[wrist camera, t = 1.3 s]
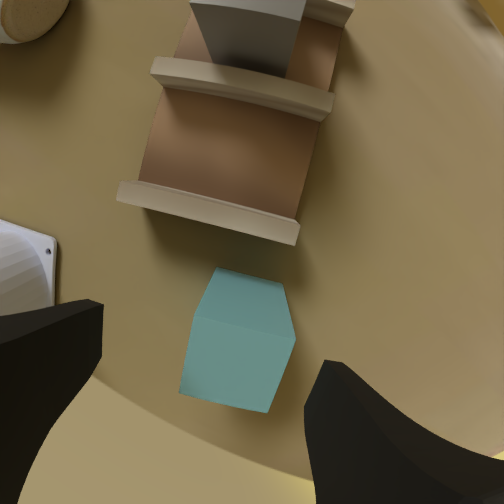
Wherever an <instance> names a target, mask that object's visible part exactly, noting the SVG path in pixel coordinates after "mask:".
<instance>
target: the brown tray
mask: <svg viewBox="0 0 504 504" xmlns="http://www.w3.org/2000/svg"><path fill="white" fill-rule="evenodd" d="M355 2H356V0H307V1H306V5H305V8H304V12H303V15H302V19H301V23H300V26H299V30H298V33H297V37H296V40H295V44H294V47H293V51H292V54H291V58H290V61H289V65H288V68H287V72H286V76H285V79H283V78H280V77H276V76H272V75H268V74H263V73H259V72H255V71H250V70H245V69H241V68H236V67H230V66H225V65H219V64H214V63H213V62H212V59H211V56H210V54H209V51H208V49H207V46H206V43H205V41H204V38H203V36H202V33H201V31H200V28H199V25H198V23H197V20H196V18H195V15H194V13H193V10H192V12H191V14H190V17H189V19H188V21H187V24H186V26H185V29H184V31H183V34H182V36H181V39H180V41H179V44H178V47H177V49H176V52H175V55H174V58H170V57H159V56H156V57H155V59H154V62H153V65H152V68H151V70H150V74H151V75H152V76H153V77H154V78H155V79H156V80H157V81H158V82H159V83H160V84H161V85H162V86H163V90H162V93H161V96H160V99H159V103H158V106H157V109H156V113H155V116H154V120H153V123H152V127H151V130H150V134H149V138H148V142H147V145H146V149H145V153H144V157H143V161H142V166H141V170H140V174H139V179H138V181H120V183H119V188H118V193H117V198H116V201H120V202H124V203H128V204H132V205H136V206H140V207H144V208H148V209H153V210H157V211H161V212H165V213H169V214H173V215H177V216H181V217H185V218H189V219H193V220H197V221H200V222H204V223H208V224H212V225H216V226H220V227H224V228H228V229H232V230H236V231H239V232H243V233H247V234H251V235H255V236H259V237H262V238H266V239H270V240H274V241H278V242H281V243H285V244H289V245H293V246H295V244H296V240H297V237H298V234H299V230H300V227H301V225H300V224H299V223H298V222H297V221H295V220H294V219H295V216H296V212H297V209H298V205H299V201H300V198H301V194H302V190H303V187H304V183H305V179H306V176H307V172H308V168H309V164H310V161H311V157H312V153H313V149H314V145H315V142H316V138H317V134H318V130H319V126H320V122H321V121H322V120H323V119H324V118H325V117H326V116H328V115H329V114H330V113H331V110H332V106H333V102H334V97H335V94H334V93H331V92H328V90H329V86H330V82H331V77H332V73H333V69H334V65H335V61H336V56H337V52H338V48H339V43H340V39H341V34H342V30H343V27H344V25H345V24H346V22H347V20H348V19H349V17H350V15H351V13H352V12H353V10H354V7H355Z"/></svg>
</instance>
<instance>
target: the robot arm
mask: <svg viewBox="0 0 504 504" xmlns="http://www.w3.org/2000/svg"><path fill="white" fill-rule="evenodd" d="M49 249H50V250H51V254H50V253H49ZM56 252H57V242H56V240H55V238H53V237H51V236H48V235H45V234H42V233H39V232H36V231H33V230H30V229H27V228H24V227H21V226H18V225H15V224H12V223H9V222H7V221H4V220H1V219H0V504H17V502H18V499H19V496H20V493H21V491H22V488H23V485H24V483H25V480H26V478H27V475H28V473H29V470H30V468H31V466H32V464H33V462H34V460H35V458H36V456H37V453H38V451H39V449H40V447H41V446H42V444H43V442H44V440H45V438H46V437H47V435H48V433H49V431H50V429H51V428H52V427H53V425H54V423H55V422H56V420H57V419H58V418H59V417H60V415H61V414H62V413H63V412H64V410H65V409H66V408H67V406H68V405H69V404H70V403H71V401H72V400H73V399H74V397H75V396H76V395H77V394H78V392H79V391H80V390H81V389H82V387H83V386H84V385H85V383H86V382H87V381H88V379H89V378H90V377H91V375H92V373H93V371H94V370H95V368H96V366H97V364H98V363H99V361H100V359H101V357H102V330H103V310H104V304H101V303H98V302H95V301H92V300H89V299H84V300H77V301H72V302H68V303H63V304H59V305H55V306H54V296H55V267H56ZM304 427H305V437H306V443H307V448H308V454H309V459H310V464H311V470H312V475H313V480H314V486H315V494H316V504H504V460H499V459H495V458H491V457H488V456H484V455H481V454H478V453H475V452H472V451H470V450H467V449H465V448H462V447H460V446H458V445H455V444H453V443H451V442H449V441H447V440H445V439H443V438H441V437H439V436H437V435H435V434H434V433H432V432H430V431H429V430H427V429H425V428H424V427H422V426H421V425H419V424H417V423H416V422H414V421H413V420H411V419H410V418H409V417H407V416H406V415H404V414H403V413H402V412H401V411H399V410H398V409H397V408H395V407H394V406H393V405H392V404H390V403H389V402H388V401H387V400H386V399H384V398H383V397H382V396H381V395H380V394H379V393H377V392H376V391H375V390H374V389H373V388H372V387H371V386H369V385H368V384H367V383H366V382H365V381H364V380H363V379H362V378H361V377H359V376H358V375H357V374H356V373H355V372H354V371H353V370H351V369H350V368H349V367H348V366H346V365H345V364H344V363H342V362H336V361H330V360H324V362H323V365H322V367H321V369H320V372H319V374H318V377H317V379H316V381H315V384H314V386H313V388H312V390H311V393H310V395H309V397H308V399H307V401H306V404H305V406H304Z"/></svg>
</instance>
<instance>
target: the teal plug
mask: <svg viewBox="0 0 504 504" xmlns="http://www.w3.org/2000/svg"><path fill="white" fill-rule="evenodd" d="M295 341H296V337H295V333H294V329H293V325H292V320H291V316H290V312H289V308H288V304H287V300H286V296H285V292H284V288H283V284H282V283H278V282H274V281H270V280H266V279H263V278H259V277H255V276H251V275H247V274H243V273H239V272H235V271H231V270H227V269H224V268H220V267H216V269H215V271H214V274H213V276H212V278H211V280H210V282H209V284H208V286H207V288H206V291H205V293H204V295H203V297H202V299H201V301H200V303H199V306H198V308H197V310H196V312H195V314H194V318H193V323H192V328H191V333H190V337H189V342H188V347H187V352H186V358H185V363H184V368H183V373H182V378H181V384H180V389H179V393H180V394H184V395H188V396H191V397H195V398H199V399H203V400H207V401H211V402H215V403H219V404H224V405H228V406H233V407H237V408H242V409H247V410H252V411H258V412H263V413H268V411H269V408H270V406H271V403H272V401H273V398H274V396H275V393H276V391H277V388H278V386H279V383H280V381H281V378H282V376H283V373H284V370H285V368H286V365H287V363H288V360H289V357H290V355H291V352H292V349H293V347H294V344H295Z"/></svg>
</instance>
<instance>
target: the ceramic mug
mask: <svg viewBox="0 0 504 504" xmlns="http://www.w3.org/2000/svg"><path fill="white" fill-rule="evenodd" d="M68 3H69V0H0V43H7V44H18V43H23V42H29V41H32V40H34V39H37V38H39V37H40V36H42V35H44V34H45V33H46V32H47V31H48V30H50V29H51V28H52V27H53V26H54V25H55V24H56V23H57V21H58V20H59V19H60V17H61V16H62V14H63V13H64V11H65V9H66V7H67V5H68Z"/></svg>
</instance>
